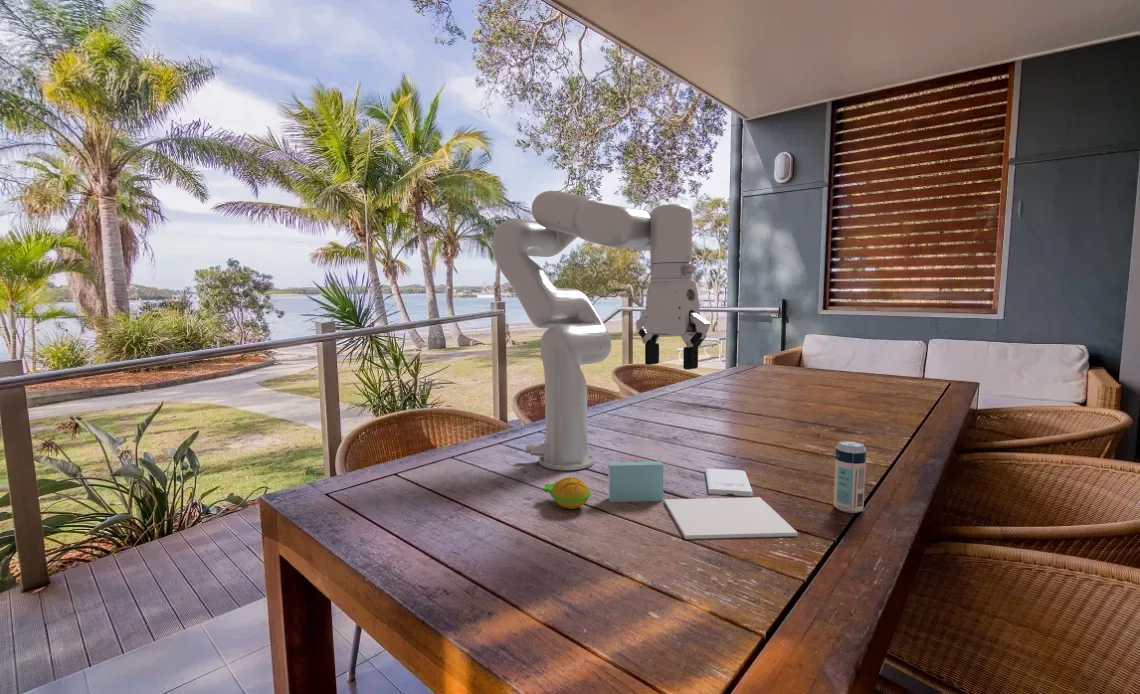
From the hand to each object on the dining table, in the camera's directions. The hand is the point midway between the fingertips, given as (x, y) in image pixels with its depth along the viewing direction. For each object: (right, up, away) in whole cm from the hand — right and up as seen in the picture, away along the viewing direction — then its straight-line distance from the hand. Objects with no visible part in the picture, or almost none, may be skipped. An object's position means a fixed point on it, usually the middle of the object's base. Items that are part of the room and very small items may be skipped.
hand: (670, 366), depth 101 cm
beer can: (+31, -26, -5) cm, 40 cm away
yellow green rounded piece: (-19, -26, -2) cm, 32 cm away
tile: (-7, -25, +1) cm, 26 cm away
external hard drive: (+13, -25, +9) cm, 29 cm away
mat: (+8, -26, -8) cm, 28 cm away
